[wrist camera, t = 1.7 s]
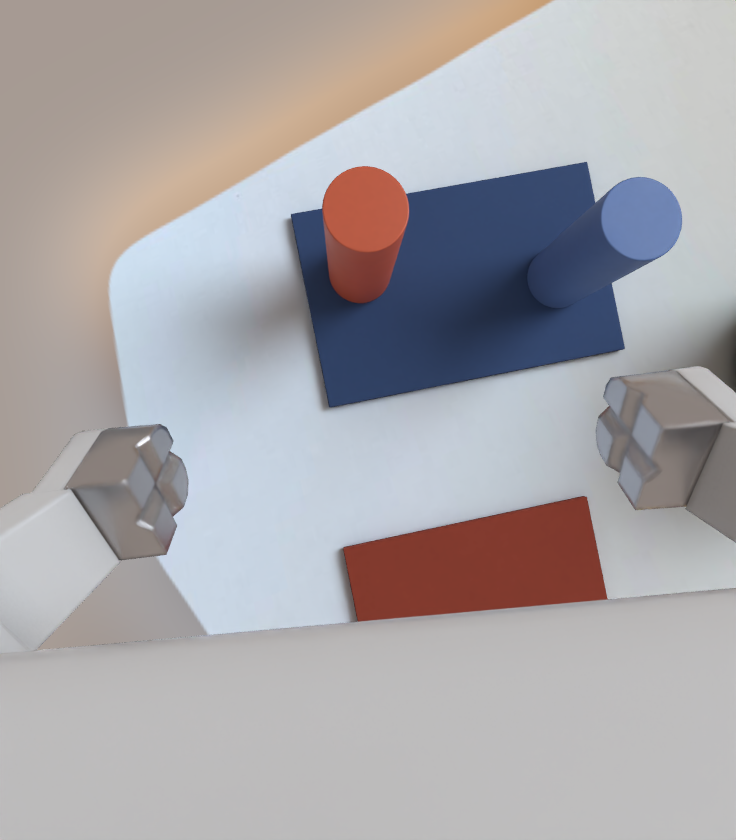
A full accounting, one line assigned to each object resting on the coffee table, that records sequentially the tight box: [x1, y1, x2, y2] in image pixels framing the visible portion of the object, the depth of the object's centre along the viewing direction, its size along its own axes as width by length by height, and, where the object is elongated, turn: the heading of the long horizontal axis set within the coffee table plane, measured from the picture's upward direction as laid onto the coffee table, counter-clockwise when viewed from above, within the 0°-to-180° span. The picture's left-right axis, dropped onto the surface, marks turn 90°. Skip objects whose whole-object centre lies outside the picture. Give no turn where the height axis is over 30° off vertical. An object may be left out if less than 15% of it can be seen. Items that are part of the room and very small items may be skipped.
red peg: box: [322, 166, 409, 303], centre depth 29 cm, size 4×4×10 cm
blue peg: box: [527, 177, 682, 308], centre depth 30 cm, size 4×4×10 cm
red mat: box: [343, 496, 607, 622], centre depth 34 cm, size 18×16×1 cm
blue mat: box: [291, 162, 625, 407], centre depth 35 cm, size 22×14×1 cm, turn 101°
